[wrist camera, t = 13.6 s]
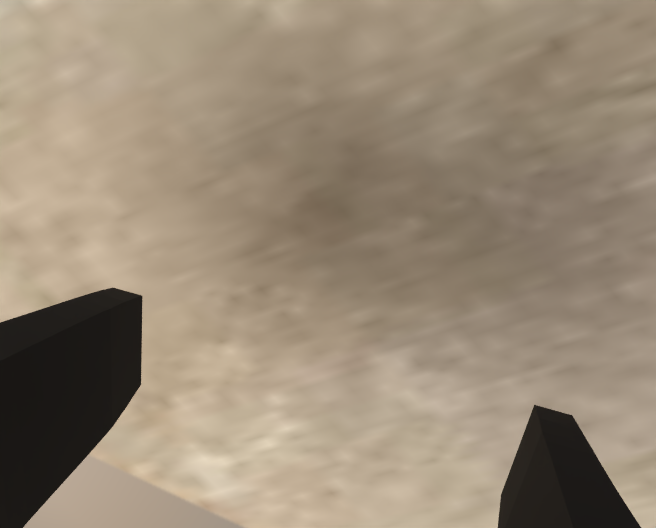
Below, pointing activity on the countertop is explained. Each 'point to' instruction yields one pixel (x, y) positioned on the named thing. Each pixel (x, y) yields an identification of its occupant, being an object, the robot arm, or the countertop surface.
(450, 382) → the countertop surface
